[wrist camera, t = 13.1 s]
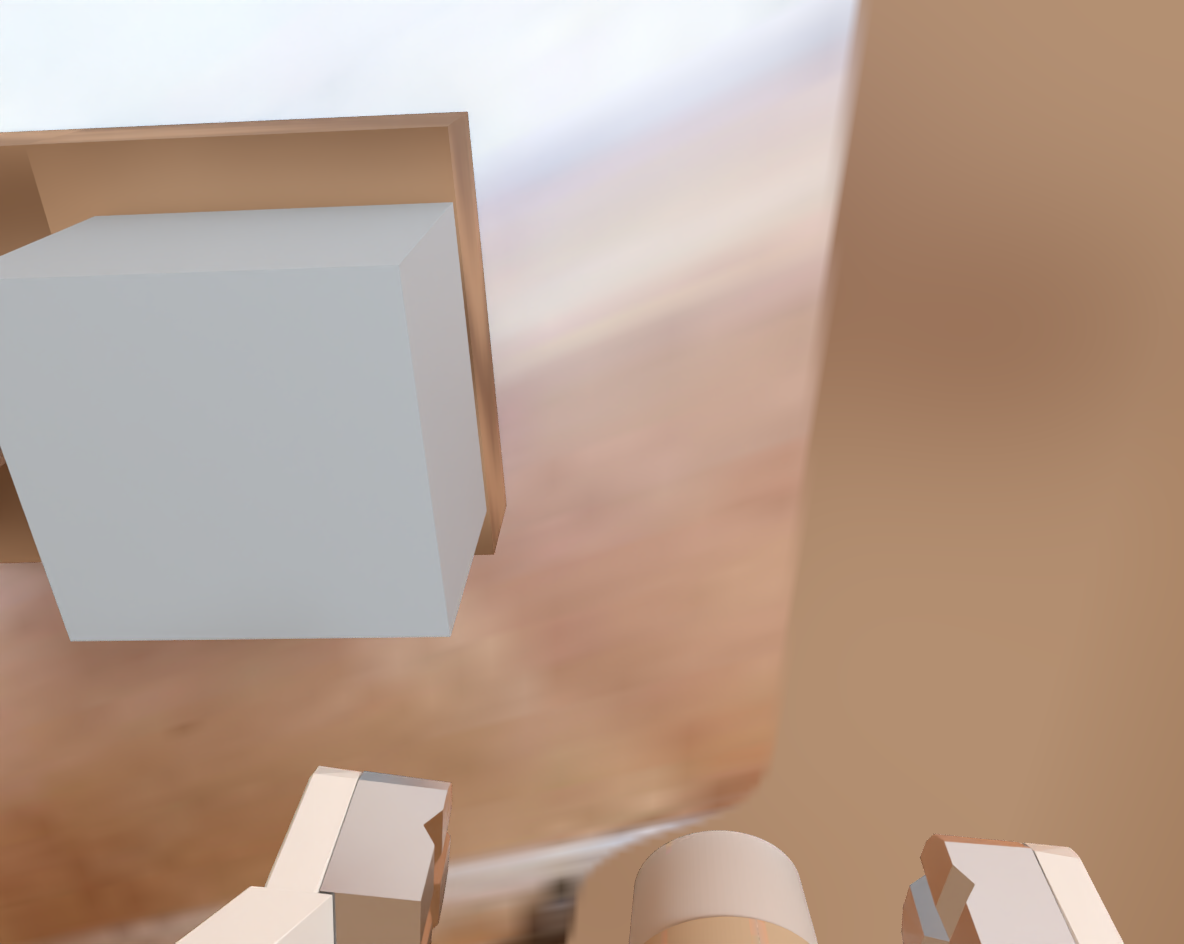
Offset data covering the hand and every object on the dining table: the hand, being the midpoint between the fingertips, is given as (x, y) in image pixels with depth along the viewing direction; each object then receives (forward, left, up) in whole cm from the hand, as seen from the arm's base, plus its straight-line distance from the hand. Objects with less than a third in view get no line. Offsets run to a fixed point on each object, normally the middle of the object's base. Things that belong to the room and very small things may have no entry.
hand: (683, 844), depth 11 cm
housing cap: (0, +9, -16) cm, 18 cm away
